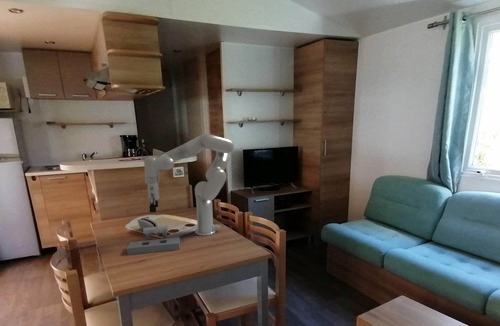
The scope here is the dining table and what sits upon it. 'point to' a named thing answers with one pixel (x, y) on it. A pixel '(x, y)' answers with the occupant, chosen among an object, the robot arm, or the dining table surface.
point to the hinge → (147, 223)
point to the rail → (153, 246)
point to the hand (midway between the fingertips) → (154, 209)
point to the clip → (155, 231)
